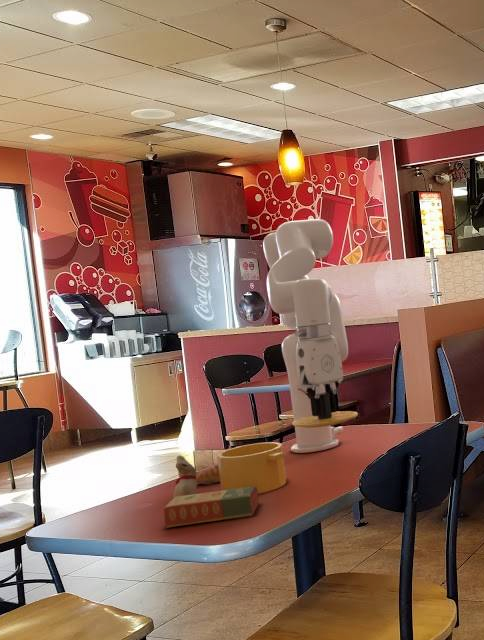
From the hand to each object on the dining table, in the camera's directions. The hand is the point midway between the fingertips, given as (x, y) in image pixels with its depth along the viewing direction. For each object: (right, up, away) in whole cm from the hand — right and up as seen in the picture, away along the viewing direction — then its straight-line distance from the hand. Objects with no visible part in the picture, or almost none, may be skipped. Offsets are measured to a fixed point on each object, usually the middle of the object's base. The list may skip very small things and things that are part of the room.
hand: (324, 413), depth 168 cm
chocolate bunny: (-28, -18, -7) cm, 34 cm away
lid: (0, -2, 0) cm, 2 cm away
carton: (-17, -17, -23) cm, 33 cm away
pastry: (-27, -17, +9) cm, 33 cm away
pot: (-15, -16, -3) cm, 22 cm away
